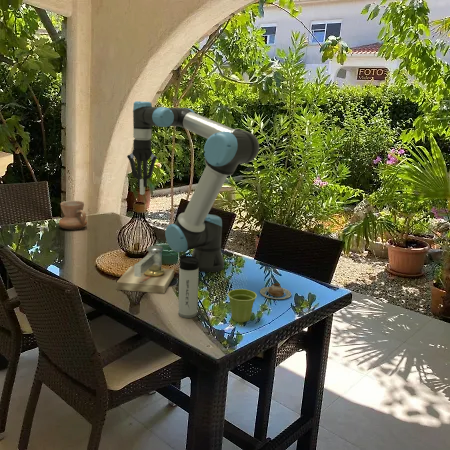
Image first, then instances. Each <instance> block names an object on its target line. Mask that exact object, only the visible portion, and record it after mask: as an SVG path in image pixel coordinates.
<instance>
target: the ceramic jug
mask: <svg viewBox="0 0 450 450" xmlns="http://www.w3.org/2000/svg"><path fill="white" fill-rule="evenodd" d="M59 205H60V209H61V211H62V213H63V217H62V218H61V219H60V220H59V221H58V224H59V227H61V229H65V230H75V231H76V230H80V229H82V228H85V227H86V226H87V225H88V221H87V213H86V211H85V210H84V208H85V207H84V206H85V202H84V201H82V200H81V201H80V200H66V201H65V200H64V201H62V202H60V204H59Z"/></svg>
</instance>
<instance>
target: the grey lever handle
mask: <svg viewBox="0 0 450 450" xmlns="http://www.w3.org/2000/svg"><path fill="white" fill-rule="evenodd" d="M146 248H147V252H148V253H147V254H146V255H145V256H144V257H143V258H142V259H141V260H139V261H138V262H137V263H136V262H135V263H134V264H133V266H134V276H135V277H141V276H142V274H145V275H147V276H160V275H163V274H164V269H165V268H163V267H162V262H163V261H162V259H163V258H162V252H163V251H164V247H163V246H161V245H149V246H147V247H146Z"/></svg>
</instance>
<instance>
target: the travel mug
mask: <svg viewBox="0 0 450 450" xmlns="http://www.w3.org/2000/svg"><path fill="white" fill-rule="evenodd" d="M198 265H199V260H198V259H197V258H196V257H193V256H192V255H186V254H182V255H180V256H179V271H178V272H179V274H178V276H179V278H178V311H177V312H178V313H177V314H178V316H179V317H180V318H183V319H193V318H195V317H196V316H197V315H198V301H199V300H198V298H199V294H198V293H199V273H200V272H199V270H198V269H199V266H198Z"/></svg>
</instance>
